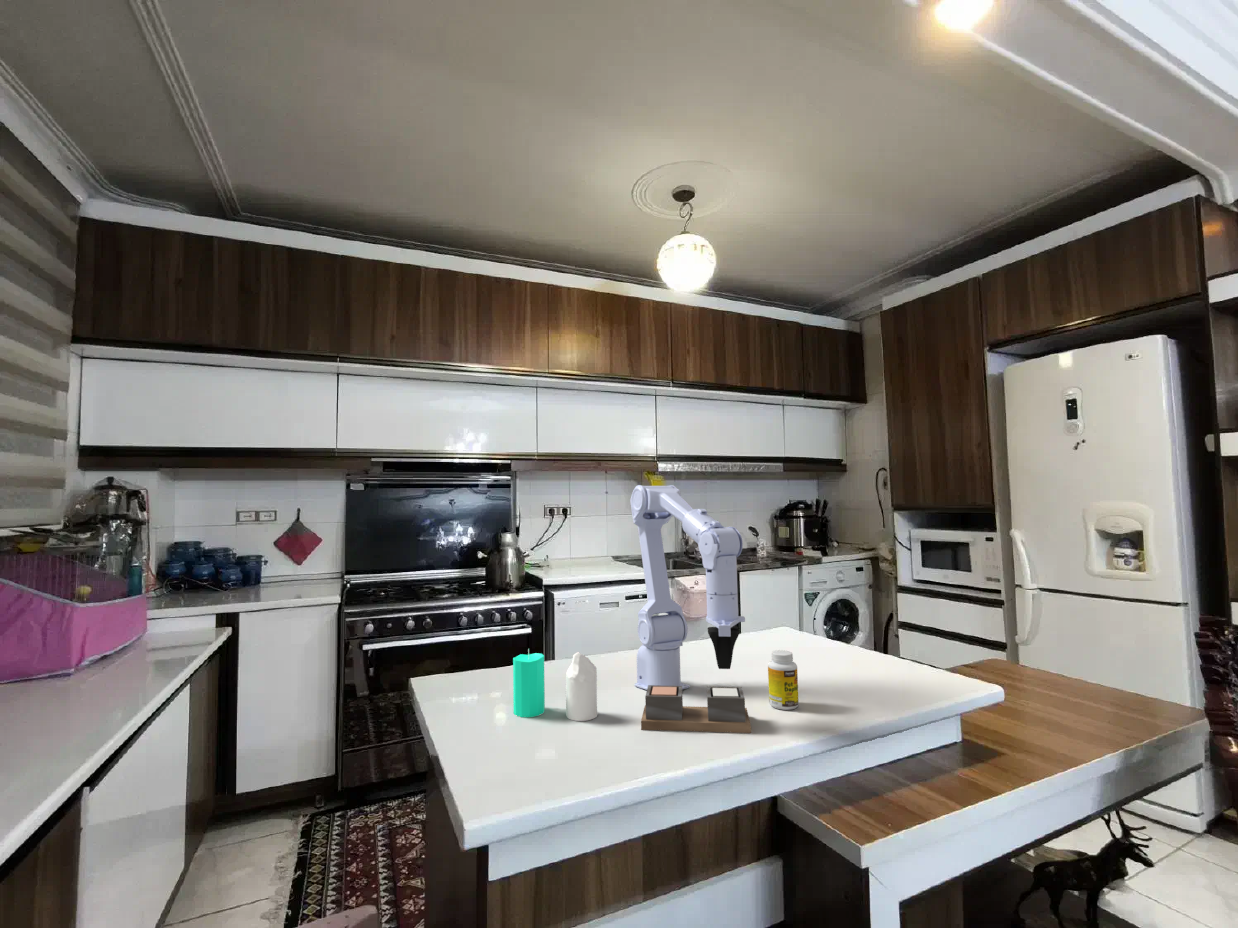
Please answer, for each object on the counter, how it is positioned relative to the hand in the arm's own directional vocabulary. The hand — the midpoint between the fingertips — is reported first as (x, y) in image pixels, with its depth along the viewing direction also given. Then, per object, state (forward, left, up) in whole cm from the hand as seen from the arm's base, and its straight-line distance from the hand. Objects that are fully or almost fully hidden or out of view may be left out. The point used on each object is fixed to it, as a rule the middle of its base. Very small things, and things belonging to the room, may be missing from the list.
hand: (724, 667), depth 105 cm
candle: (-29, -24, -10) cm, 39 cm away
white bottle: (-20, -18, -10) cm, 29 cm away
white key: (+1, -1, -6) cm, 7 cm away
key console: (-3, -5, -9) cm, 11 cm away
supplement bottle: (+3, +14, -10) cm, 17 cm away
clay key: (-7, -8, -6) cm, 13 cm away
